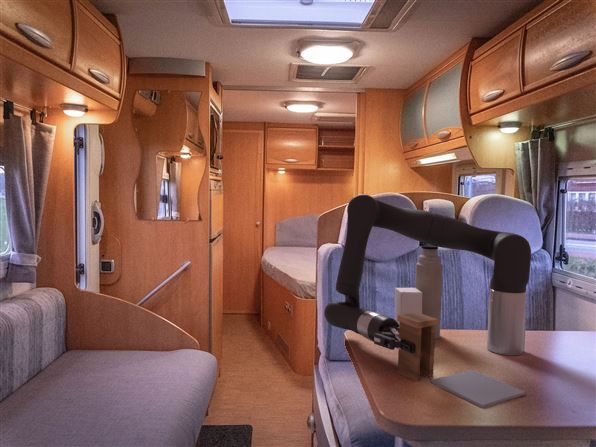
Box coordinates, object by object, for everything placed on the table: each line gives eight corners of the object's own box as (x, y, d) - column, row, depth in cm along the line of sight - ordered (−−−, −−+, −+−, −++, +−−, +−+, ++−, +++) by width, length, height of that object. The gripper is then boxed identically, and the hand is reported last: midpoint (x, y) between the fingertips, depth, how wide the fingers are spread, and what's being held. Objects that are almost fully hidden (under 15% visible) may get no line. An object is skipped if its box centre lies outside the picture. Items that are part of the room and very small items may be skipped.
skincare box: (421, 346, 129) (423, 292, 128) (398, 345, 129) (400, 292, 128) (414, 337, 137) (416, 287, 136) (392, 336, 137) (394, 286, 136)
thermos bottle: (438, 332, 143) (442, 244, 141) (441, 340, 135) (445, 247, 133) (412, 330, 144) (416, 243, 143) (413, 338, 136) (417, 246, 135)
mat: (472, 372, 110) (472, 369, 110) (525, 394, 98) (525, 391, 98) (430, 382, 103) (430, 379, 103) (482, 407, 91) (482, 405, 91)
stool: (414, 367, 112) (417, 312, 111) (435, 377, 106) (438, 319, 105) (395, 372, 109) (397, 315, 108) (415, 382, 103) (417, 322, 102)
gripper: (356, 317, 116) (401, 335, 101) (398, 311, 123) (446, 327, 108) (355, 345, 116) (400, 367, 102) (397, 338, 123) (445, 358, 109)
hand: (424, 347), depth 105 cm, fingers closed on stool, 5 cm apart
